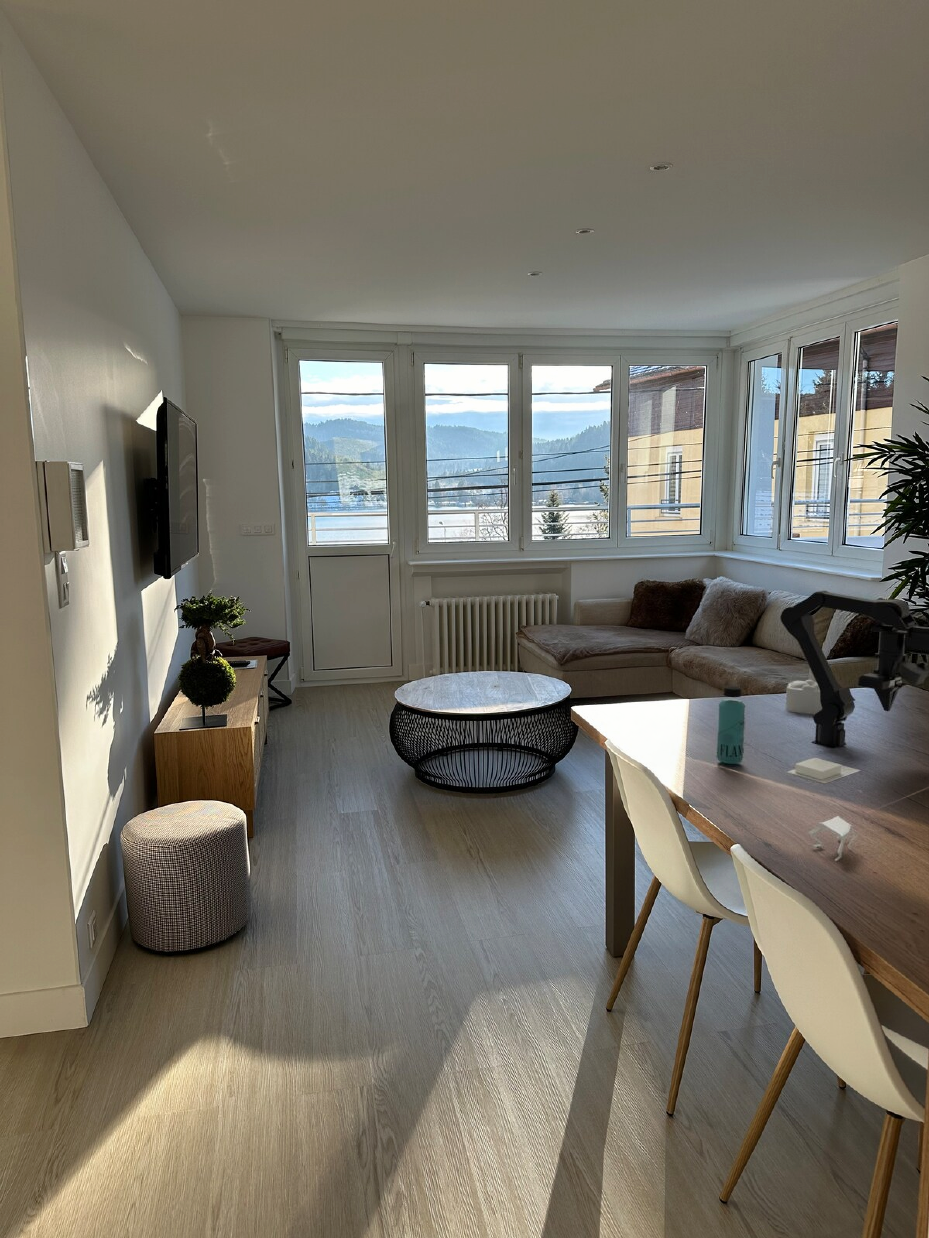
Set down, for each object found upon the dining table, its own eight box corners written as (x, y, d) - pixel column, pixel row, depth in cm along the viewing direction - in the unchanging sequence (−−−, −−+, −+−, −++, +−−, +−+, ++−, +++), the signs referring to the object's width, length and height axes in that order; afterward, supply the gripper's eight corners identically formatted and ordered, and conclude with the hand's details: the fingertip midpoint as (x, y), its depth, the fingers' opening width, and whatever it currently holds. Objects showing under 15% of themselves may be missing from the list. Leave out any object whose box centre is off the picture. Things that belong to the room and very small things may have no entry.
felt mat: (786, 773, 204) (786, 771, 203) (822, 761, 212) (822, 759, 212) (824, 784, 195) (824, 783, 195) (860, 772, 204) (860, 770, 204)
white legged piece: (802, 837, 167) (803, 814, 166) (845, 838, 166) (847, 814, 165) (823, 864, 155) (824, 839, 154) (870, 865, 154) (872, 840, 153)
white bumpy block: (787, 703, 269) (789, 677, 267) (832, 707, 263) (833, 680, 262) (784, 711, 259) (786, 684, 258) (830, 716, 254) (832, 687, 252)
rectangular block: (814, 765, 208) (795, 772, 203) (814, 757, 207) (795, 763, 203) (841, 773, 202) (821, 780, 197) (841, 764, 202) (822, 771, 197)
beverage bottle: (715, 768, 208) (717, 689, 205) (716, 759, 214) (719, 683, 211) (742, 770, 206) (746, 690, 203) (743, 762, 212) (747, 684, 209)
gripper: (903, 660, 199) (899, 724, 202) (943, 650, 210) (938, 711, 212) (858, 652, 208) (854, 714, 211) (898, 644, 219) (894, 702, 221)
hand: (887, 710), depth 214 cm, fingers closed
